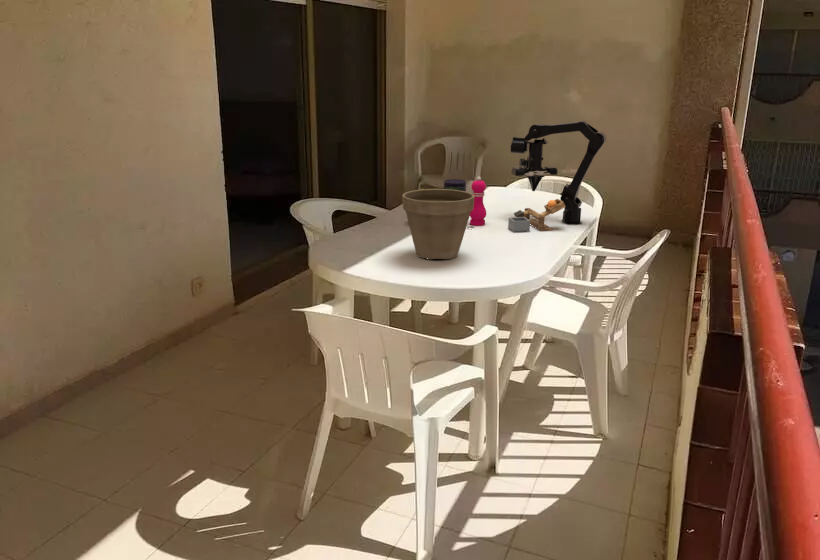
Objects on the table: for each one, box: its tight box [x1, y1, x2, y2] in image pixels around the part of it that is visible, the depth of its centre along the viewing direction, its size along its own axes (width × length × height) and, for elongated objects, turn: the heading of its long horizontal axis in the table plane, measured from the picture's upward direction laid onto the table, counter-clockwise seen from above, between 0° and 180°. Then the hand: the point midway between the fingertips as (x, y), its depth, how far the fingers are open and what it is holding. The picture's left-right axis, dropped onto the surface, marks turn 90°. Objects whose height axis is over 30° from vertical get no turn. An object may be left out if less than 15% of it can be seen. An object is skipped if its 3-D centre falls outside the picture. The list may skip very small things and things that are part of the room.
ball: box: [546, 199, 556, 208], centre depth 268 cm, size 4×4×4 cm
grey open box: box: [507, 216, 531, 233], centre depth 268 cm, size 7×7×4 cm
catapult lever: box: [513, 198, 565, 220], centre depth 273 cm, size 17×16×3 cm
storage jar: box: [443, 178, 467, 192], centre depth 292 cm, size 10×10×15 cm
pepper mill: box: [469, 176, 487, 227], centre depth 275 cm, size 7×7×20 cm
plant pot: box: [401, 188, 474, 260], centre depth 232 cm, size 25×25×22 cm
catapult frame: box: [524, 207, 553, 232], centre depth 275 cm, size 6×18×6 cm, turn 11°
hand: (533, 191), depth 284 cm, fingers closed
